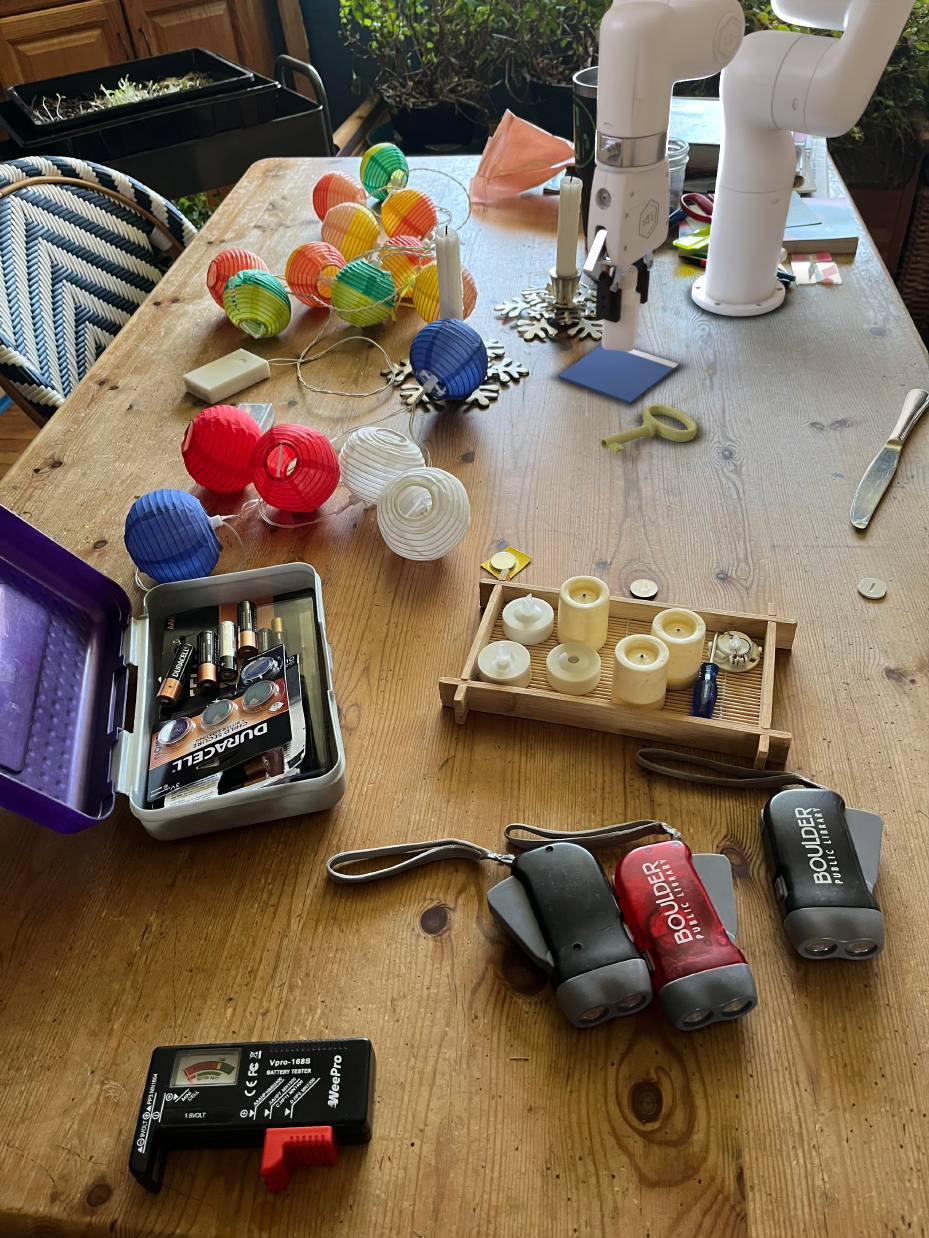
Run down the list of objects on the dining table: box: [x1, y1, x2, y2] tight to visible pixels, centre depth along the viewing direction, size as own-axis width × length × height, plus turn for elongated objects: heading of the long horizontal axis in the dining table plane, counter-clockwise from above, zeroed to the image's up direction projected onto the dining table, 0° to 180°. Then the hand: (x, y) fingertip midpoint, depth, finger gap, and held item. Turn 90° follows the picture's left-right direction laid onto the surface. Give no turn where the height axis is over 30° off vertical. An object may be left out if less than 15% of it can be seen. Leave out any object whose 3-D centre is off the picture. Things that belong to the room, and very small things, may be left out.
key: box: [600, 403, 698, 455], centre depth 99 cm, size 7×12×2 cm, turn 139°
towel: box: [557, 344, 681, 405], centre depth 110 cm, size 11×11×1 cm
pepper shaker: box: [601, 265, 641, 351], centre depth 104 cm, size 4×4×10 cm
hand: (621, 308), depth 104 cm, fingers closed on pepper shaker, 4 cm apart
